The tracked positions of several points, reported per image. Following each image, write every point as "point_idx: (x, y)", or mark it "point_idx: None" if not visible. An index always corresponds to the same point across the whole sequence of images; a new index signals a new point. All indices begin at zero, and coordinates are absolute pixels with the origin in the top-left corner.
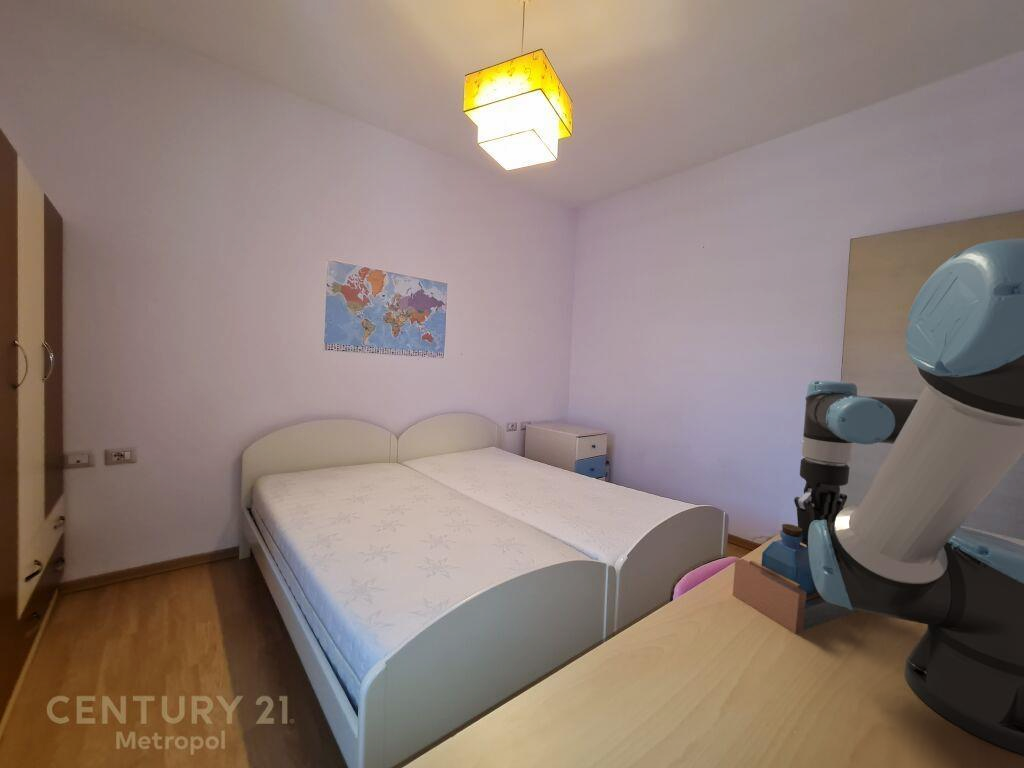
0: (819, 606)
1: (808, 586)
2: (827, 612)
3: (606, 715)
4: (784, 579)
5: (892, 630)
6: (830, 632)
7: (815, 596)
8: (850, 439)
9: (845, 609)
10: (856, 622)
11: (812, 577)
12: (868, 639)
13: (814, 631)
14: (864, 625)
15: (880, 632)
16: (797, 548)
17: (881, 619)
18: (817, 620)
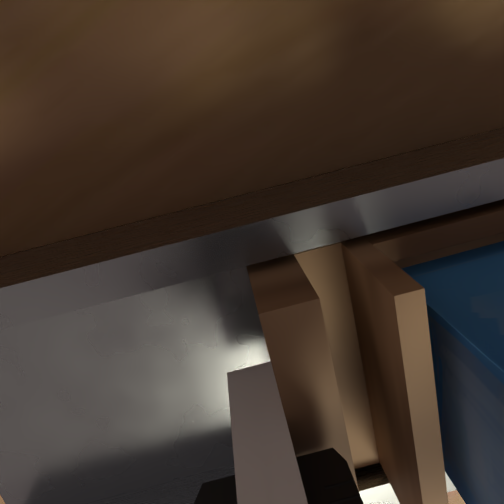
0: (494, 155)
1: (487, 278)
2: (385, 170)
3: None
4: None
5: (74, 62)
6: (423, 92)
7: (460, 223)
8: None
9: (220, 208)
10: (212, 145)
11: (487, 312)
12: (286, 15)
13: (490, 109)
14: (193, 119)
15: (162, 56)
16: None
17: (45, 152)
18: (454, 145)
